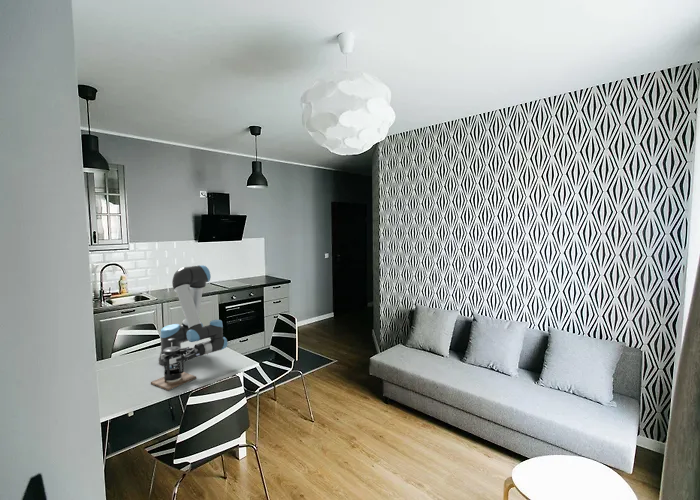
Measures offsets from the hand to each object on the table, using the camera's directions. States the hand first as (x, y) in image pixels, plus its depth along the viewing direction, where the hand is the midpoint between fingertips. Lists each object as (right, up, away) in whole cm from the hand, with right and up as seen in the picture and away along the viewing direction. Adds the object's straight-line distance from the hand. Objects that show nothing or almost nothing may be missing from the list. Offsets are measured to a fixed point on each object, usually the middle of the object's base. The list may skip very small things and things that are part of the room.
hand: (165, 359), depth 206 cm
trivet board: (+3, -14, +4) cm, 15 cm away
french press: (+3, -12, +4) cm, 13 cm away
